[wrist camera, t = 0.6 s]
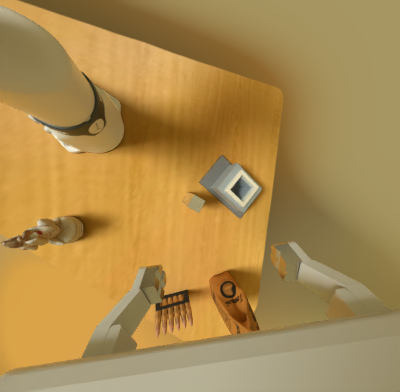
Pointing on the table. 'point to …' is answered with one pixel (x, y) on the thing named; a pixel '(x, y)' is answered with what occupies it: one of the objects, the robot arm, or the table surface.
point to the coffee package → (232, 304)
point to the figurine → (48, 233)
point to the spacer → (249, 195)
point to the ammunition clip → (173, 311)
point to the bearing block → (219, 181)
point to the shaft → (193, 202)
